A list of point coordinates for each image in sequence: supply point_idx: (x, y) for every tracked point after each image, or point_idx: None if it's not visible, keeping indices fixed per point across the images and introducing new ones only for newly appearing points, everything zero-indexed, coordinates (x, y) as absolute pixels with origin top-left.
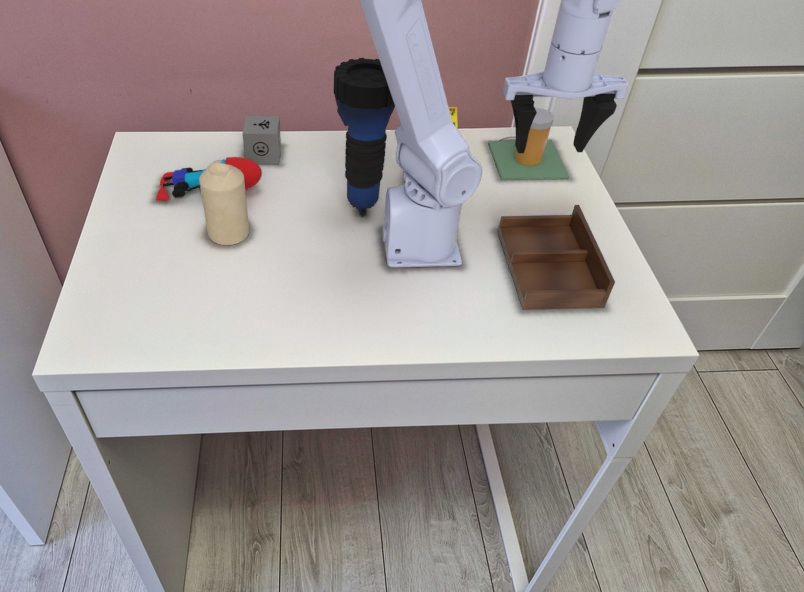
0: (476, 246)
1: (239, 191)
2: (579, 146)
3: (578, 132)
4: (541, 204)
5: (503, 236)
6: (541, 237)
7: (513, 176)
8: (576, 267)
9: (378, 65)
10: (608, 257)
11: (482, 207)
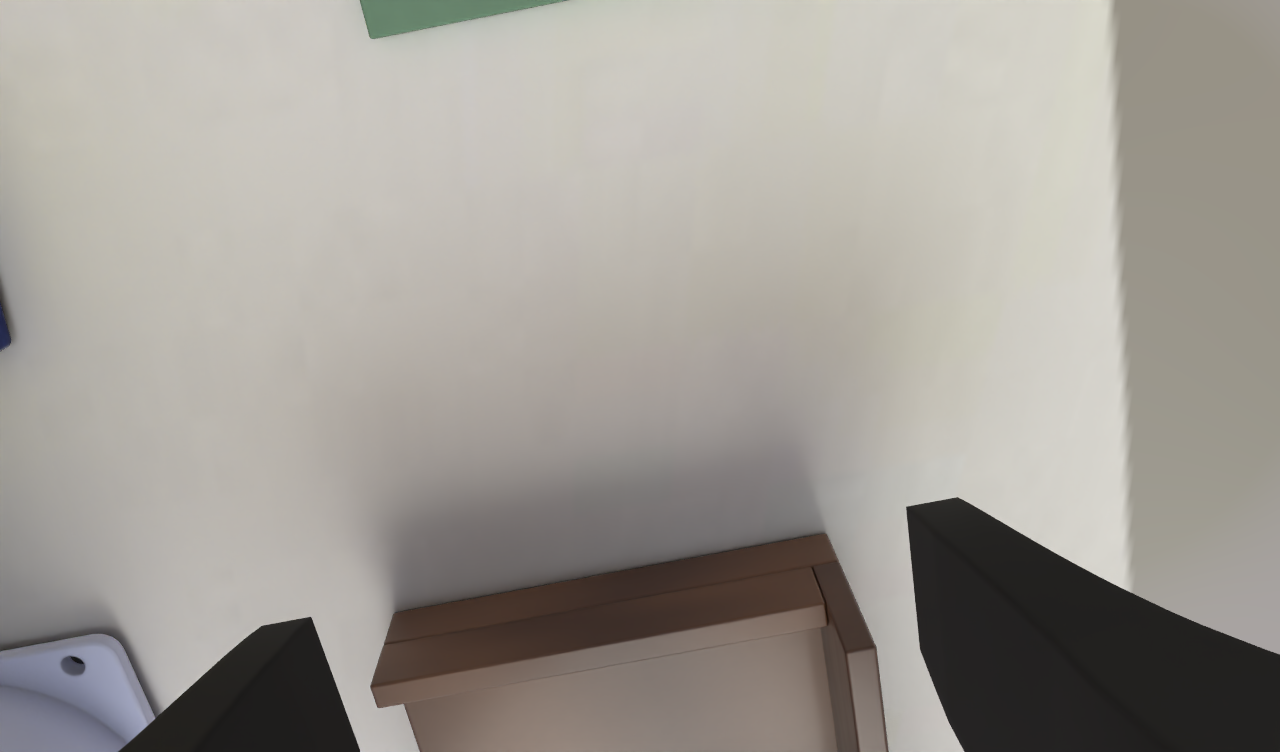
0: None
1: None
2: (945, 704)
3: (974, 633)
4: (671, 303)
5: (416, 732)
6: (634, 709)
7: (464, 8)
8: None
9: None
10: None
11: (274, 399)
